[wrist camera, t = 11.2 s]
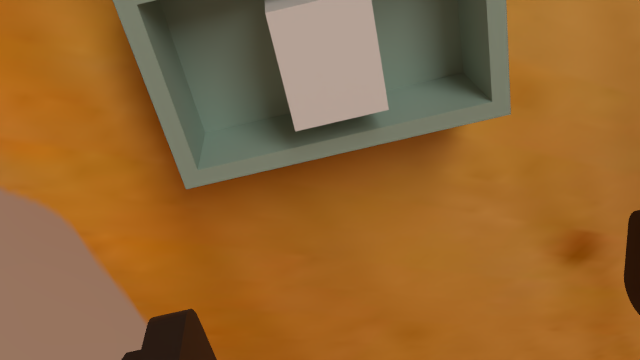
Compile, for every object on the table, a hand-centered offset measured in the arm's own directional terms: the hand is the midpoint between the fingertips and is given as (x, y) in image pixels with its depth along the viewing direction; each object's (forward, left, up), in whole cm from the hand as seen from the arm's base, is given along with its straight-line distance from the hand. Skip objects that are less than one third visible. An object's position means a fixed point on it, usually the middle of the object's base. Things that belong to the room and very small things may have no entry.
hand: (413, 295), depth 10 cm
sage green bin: (0, 0, -20) cm, 20 cm away
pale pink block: (0, 0, -19) cm, 19 cm away
